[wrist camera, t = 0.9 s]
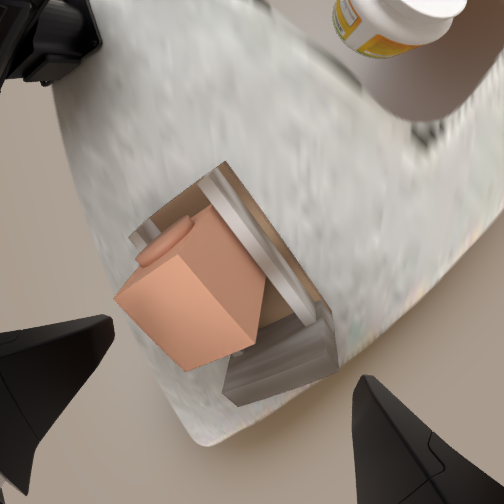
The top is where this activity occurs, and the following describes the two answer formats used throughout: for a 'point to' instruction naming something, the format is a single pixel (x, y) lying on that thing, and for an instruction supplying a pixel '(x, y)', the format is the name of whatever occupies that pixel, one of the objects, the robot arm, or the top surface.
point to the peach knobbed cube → (196, 291)
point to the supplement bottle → (392, 24)
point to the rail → (274, 296)
